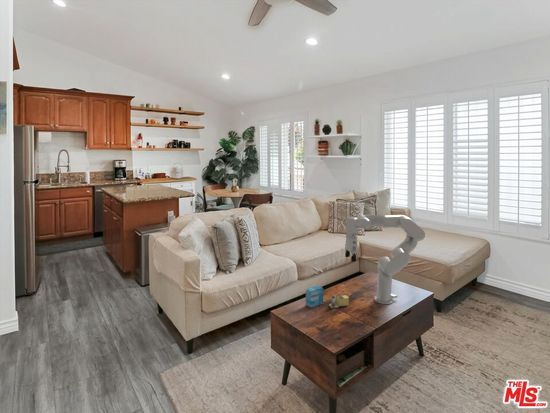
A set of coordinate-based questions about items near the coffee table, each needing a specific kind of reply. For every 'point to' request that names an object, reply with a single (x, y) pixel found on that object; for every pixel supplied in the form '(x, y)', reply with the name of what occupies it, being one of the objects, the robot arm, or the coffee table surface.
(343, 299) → the yellow and grey block
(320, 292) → the data package
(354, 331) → the coffee table surface
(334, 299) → the shiny grey cylinder
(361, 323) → the coffee table surface
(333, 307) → the beige striped flat block
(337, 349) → the coffee table surface
